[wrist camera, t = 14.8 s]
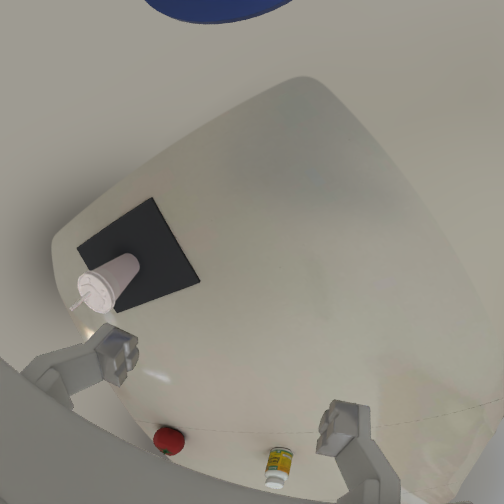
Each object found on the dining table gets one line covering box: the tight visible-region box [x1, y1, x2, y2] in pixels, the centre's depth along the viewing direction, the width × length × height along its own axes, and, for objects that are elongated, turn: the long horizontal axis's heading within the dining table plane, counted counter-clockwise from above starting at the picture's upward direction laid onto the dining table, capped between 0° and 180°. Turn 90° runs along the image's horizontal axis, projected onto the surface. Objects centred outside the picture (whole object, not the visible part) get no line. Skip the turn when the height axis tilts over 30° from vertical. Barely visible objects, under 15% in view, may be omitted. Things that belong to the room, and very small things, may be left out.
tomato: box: [153, 427, 185, 456], centre depth 64 cm, size 8×8×7 cm
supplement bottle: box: [265, 448, 293, 489], centre depth 56 cm, size 5×5×10 cm
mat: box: [77, 198, 200, 313], centre depth 46 cm, size 20×14×1 cm
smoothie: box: [70, 253, 140, 313], centre depth 40 cm, size 6×6×14 cm
